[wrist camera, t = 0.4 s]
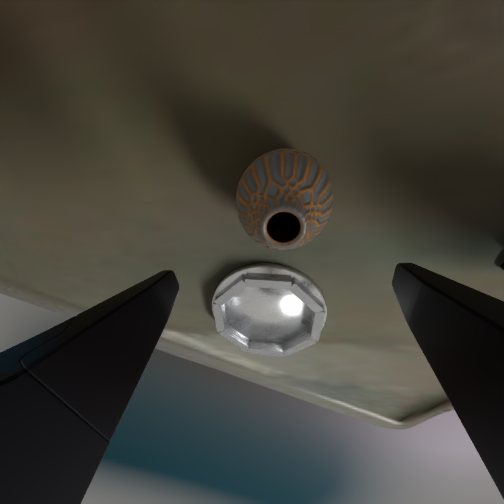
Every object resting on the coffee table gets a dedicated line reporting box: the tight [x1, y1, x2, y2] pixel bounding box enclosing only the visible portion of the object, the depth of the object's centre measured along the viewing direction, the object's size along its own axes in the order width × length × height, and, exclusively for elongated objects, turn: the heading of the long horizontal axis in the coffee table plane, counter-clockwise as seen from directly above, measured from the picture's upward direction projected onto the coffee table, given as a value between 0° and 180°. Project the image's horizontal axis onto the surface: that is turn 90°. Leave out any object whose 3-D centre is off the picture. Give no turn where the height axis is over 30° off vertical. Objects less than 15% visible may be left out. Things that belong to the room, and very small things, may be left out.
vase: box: [236, 148, 333, 250], centre depth 14 cm, size 7×7×9 cm
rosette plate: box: [212, 263, 327, 357], centre depth 25 cm, size 14×14×2 cm
